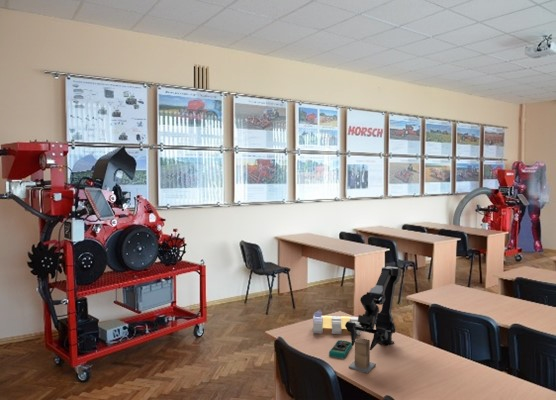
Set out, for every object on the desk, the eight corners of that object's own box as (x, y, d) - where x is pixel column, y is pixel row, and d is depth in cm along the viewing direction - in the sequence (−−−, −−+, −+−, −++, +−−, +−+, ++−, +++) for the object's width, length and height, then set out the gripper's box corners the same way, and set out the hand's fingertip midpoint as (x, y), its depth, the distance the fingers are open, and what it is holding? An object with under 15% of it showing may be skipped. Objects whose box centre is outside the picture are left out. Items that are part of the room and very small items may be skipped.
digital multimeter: (352, 347, 209) (352, 341, 209) (344, 359, 195) (344, 353, 195) (337, 344, 213) (337, 338, 212) (328, 357, 198) (328, 350, 198)
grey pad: (356, 360, 194) (356, 358, 194) (375, 365, 189) (375, 363, 189) (348, 368, 186) (348, 366, 186) (368, 373, 181) (368, 371, 181)
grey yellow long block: (313, 334, 226) (313, 310, 225) (313, 327, 236) (313, 304, 235) (360, 336, 223) (360, 311, 222) (358, 328, 233) (359, 305, 232)
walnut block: (359, 361, 191) (359, 337, 190) (369, 363, 188) (369, 340, 187) (354, 365, 187) (354, 341, 186) (365, 368, 184) (365, 344, 183)
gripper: (346, 303, 194) (336, 335, 186) (386, 311, 184) (377, 344, 176) (353, 315, 201) (343, 346, 193) (391, 323, 191) (383, 355, 183)
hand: (361, 347), depth 186 cm, fingers open, 8 cm apart
